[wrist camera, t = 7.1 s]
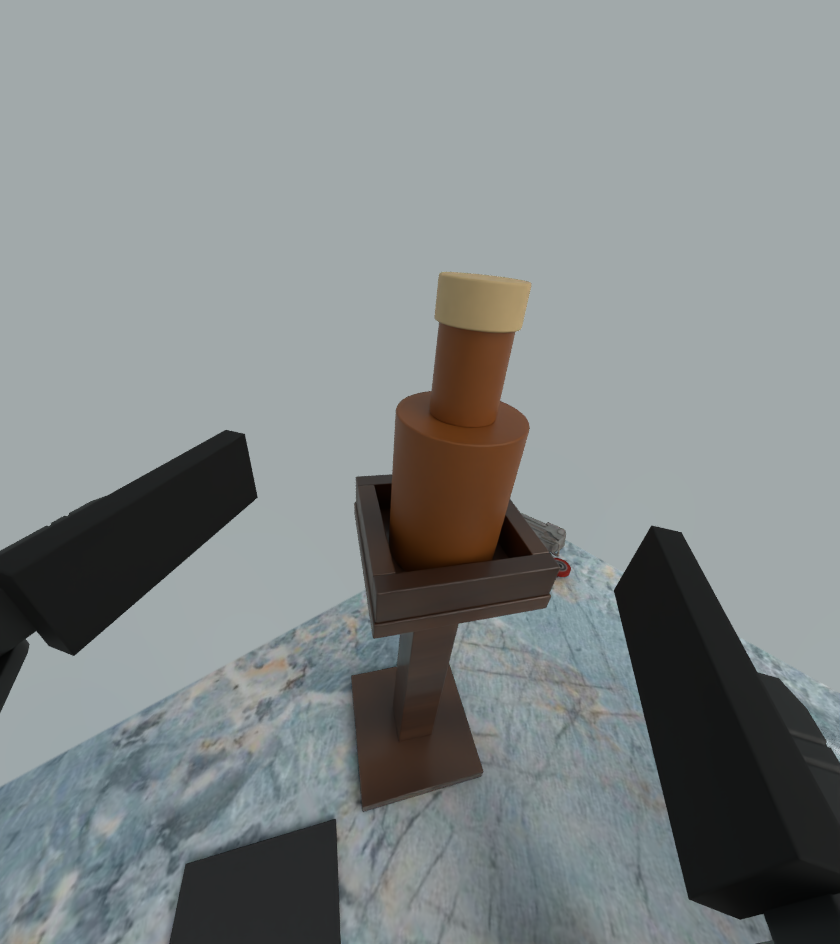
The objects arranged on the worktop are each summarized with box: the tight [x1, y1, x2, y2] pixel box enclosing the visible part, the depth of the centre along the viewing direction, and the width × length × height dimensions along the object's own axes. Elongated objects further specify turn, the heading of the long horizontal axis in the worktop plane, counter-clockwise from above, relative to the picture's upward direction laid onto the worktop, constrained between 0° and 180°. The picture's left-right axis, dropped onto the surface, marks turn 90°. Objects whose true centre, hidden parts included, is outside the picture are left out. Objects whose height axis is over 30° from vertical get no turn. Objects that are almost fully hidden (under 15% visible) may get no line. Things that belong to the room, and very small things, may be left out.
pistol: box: [521, 513, 566, 556], centre depth 54 cm, size 19×2×12 cm
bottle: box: [389, 272, 531, 572], centre depth 17 cm, size 6×6×13 cm
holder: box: [351, 475, 560, 812], centre depth 26 cm, size 10×10×25 cm
